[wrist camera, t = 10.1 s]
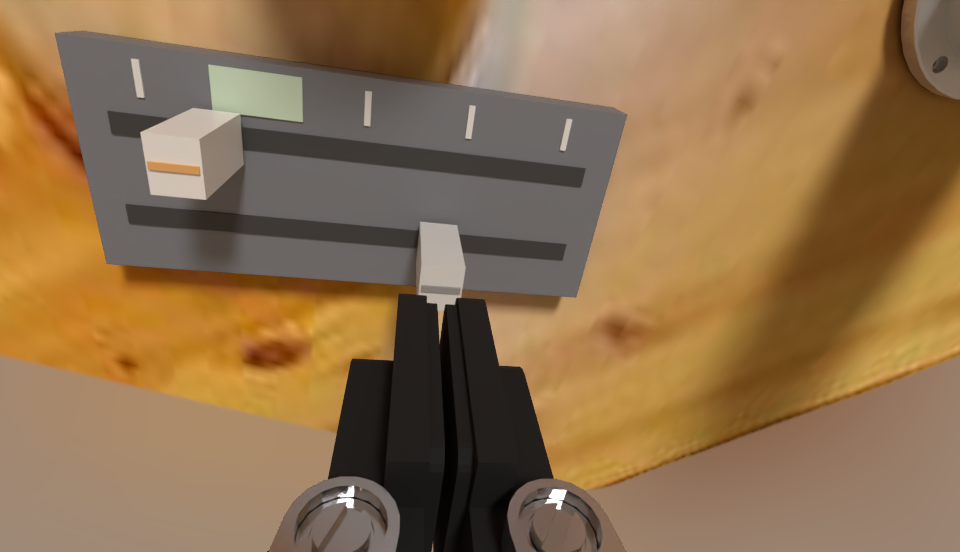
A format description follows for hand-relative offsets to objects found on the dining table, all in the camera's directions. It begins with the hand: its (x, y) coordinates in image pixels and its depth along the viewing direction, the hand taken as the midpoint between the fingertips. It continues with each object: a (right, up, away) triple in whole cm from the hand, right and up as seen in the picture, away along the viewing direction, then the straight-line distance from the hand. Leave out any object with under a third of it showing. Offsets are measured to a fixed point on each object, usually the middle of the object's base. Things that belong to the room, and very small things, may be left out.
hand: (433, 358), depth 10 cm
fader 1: (-11, +8, +13) cm, 19 cm away
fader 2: (-2, +3, +17) cm, 18 cm away
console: (-5, +7, +17) cm, 20 cm away
